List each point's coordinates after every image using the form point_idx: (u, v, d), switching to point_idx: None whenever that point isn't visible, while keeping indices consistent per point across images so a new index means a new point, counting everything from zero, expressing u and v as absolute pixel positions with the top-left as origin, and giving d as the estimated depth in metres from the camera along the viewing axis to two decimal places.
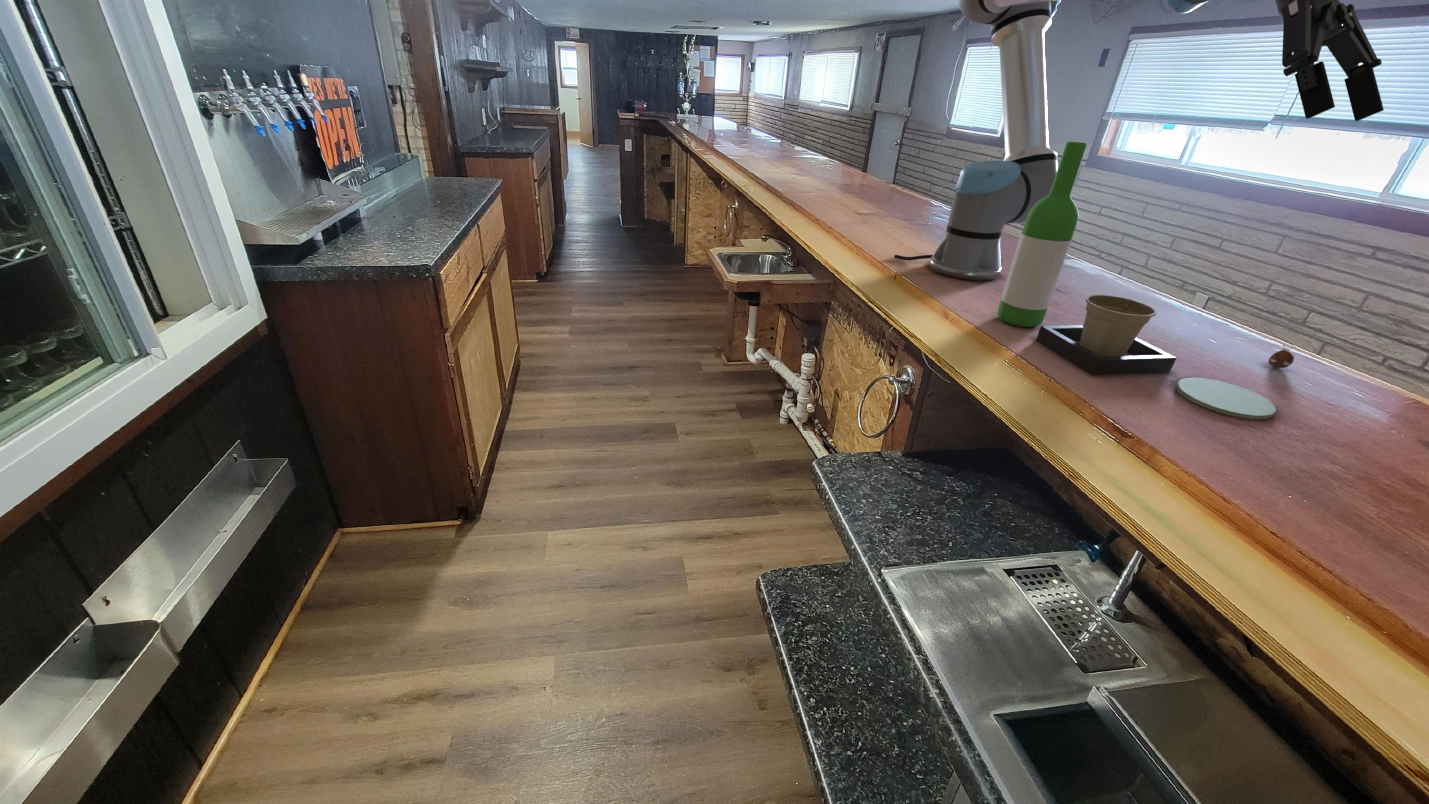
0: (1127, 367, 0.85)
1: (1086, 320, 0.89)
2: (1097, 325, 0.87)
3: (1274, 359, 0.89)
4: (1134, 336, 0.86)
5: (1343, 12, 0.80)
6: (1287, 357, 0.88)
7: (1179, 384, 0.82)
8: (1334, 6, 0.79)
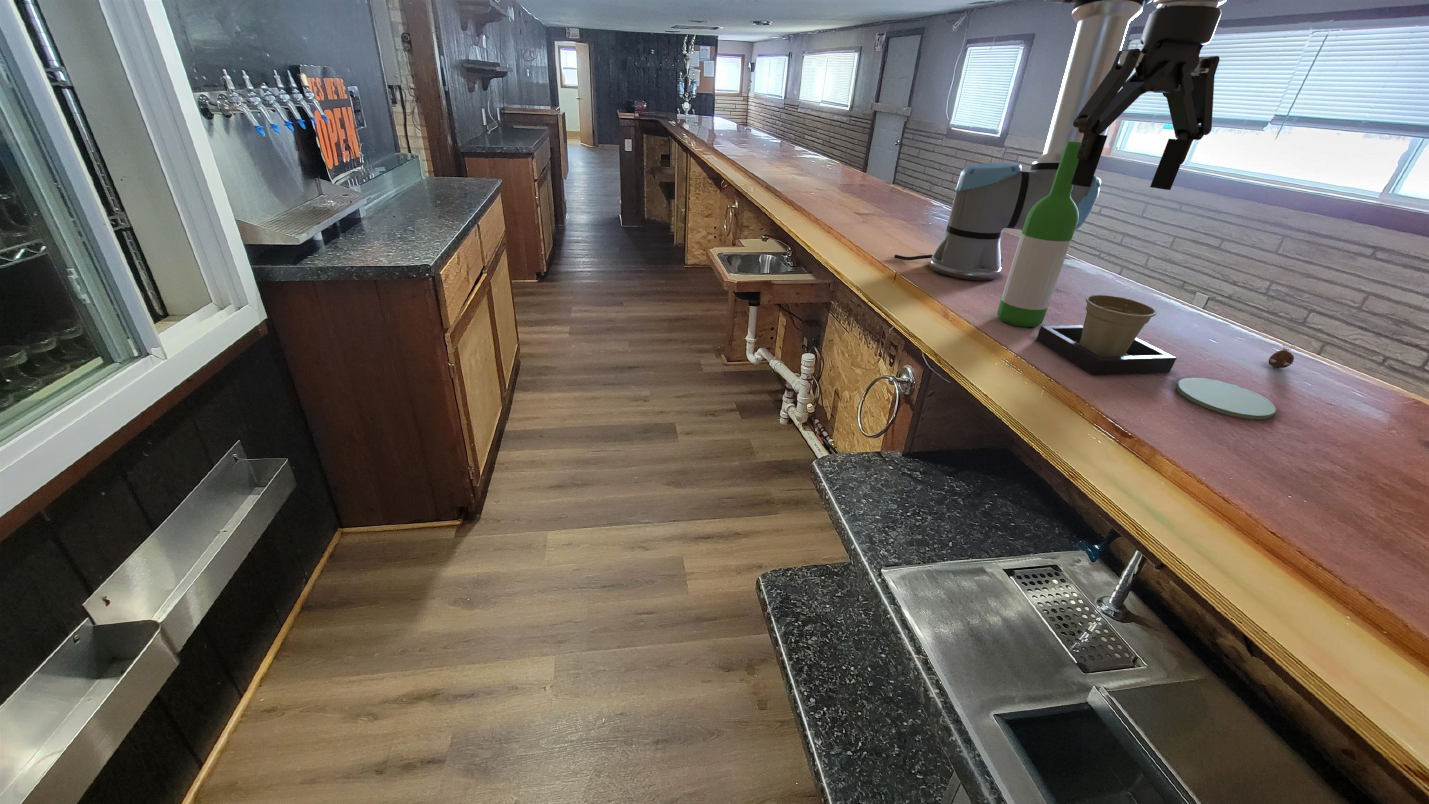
0: (1127, 367, 0.85)
1: (1086, 320, 0.89)
2: (1097, 325, 0.87)
3: (1274, 359, 0.89)
4: (1134, 336, 0.86)
5: (1182, 74, 0.73)
6: (1287, 357, 0.88)
7: (1179, 384, 0.82)
8: (1169, 68, 0.72)
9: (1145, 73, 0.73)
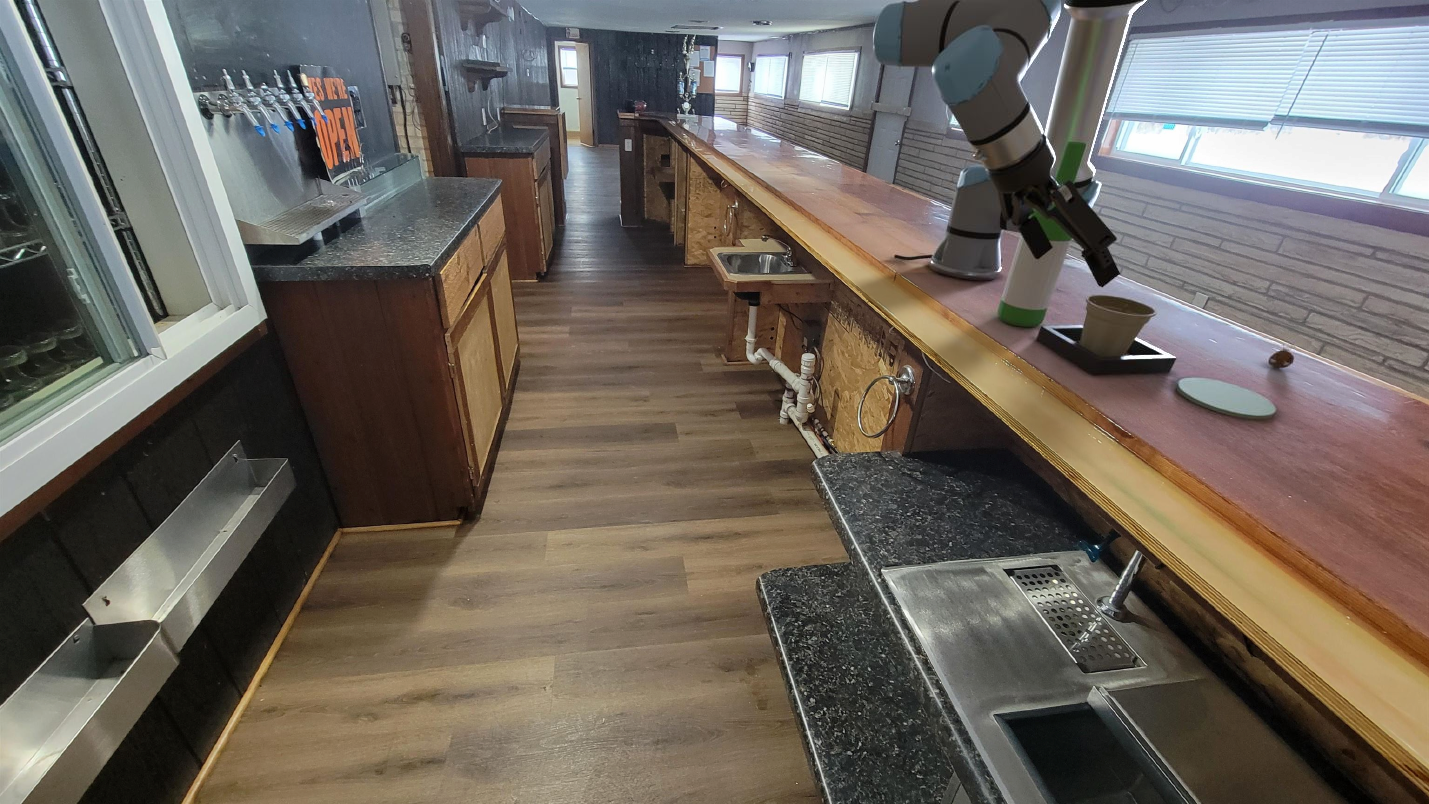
0: (1127, 367, 0.85)
1: (1086, 320, 0.89)
2: (1097, 325, 0.87)
3: (1274, 359, 0.89)
4: (1134, 336, 0.86)
5: (1029, 204, 0.75)
6: (1287, 357, 0.88)
7: (1179, 384, 0.82)
8: (1015, 198, 0.77)
9: None
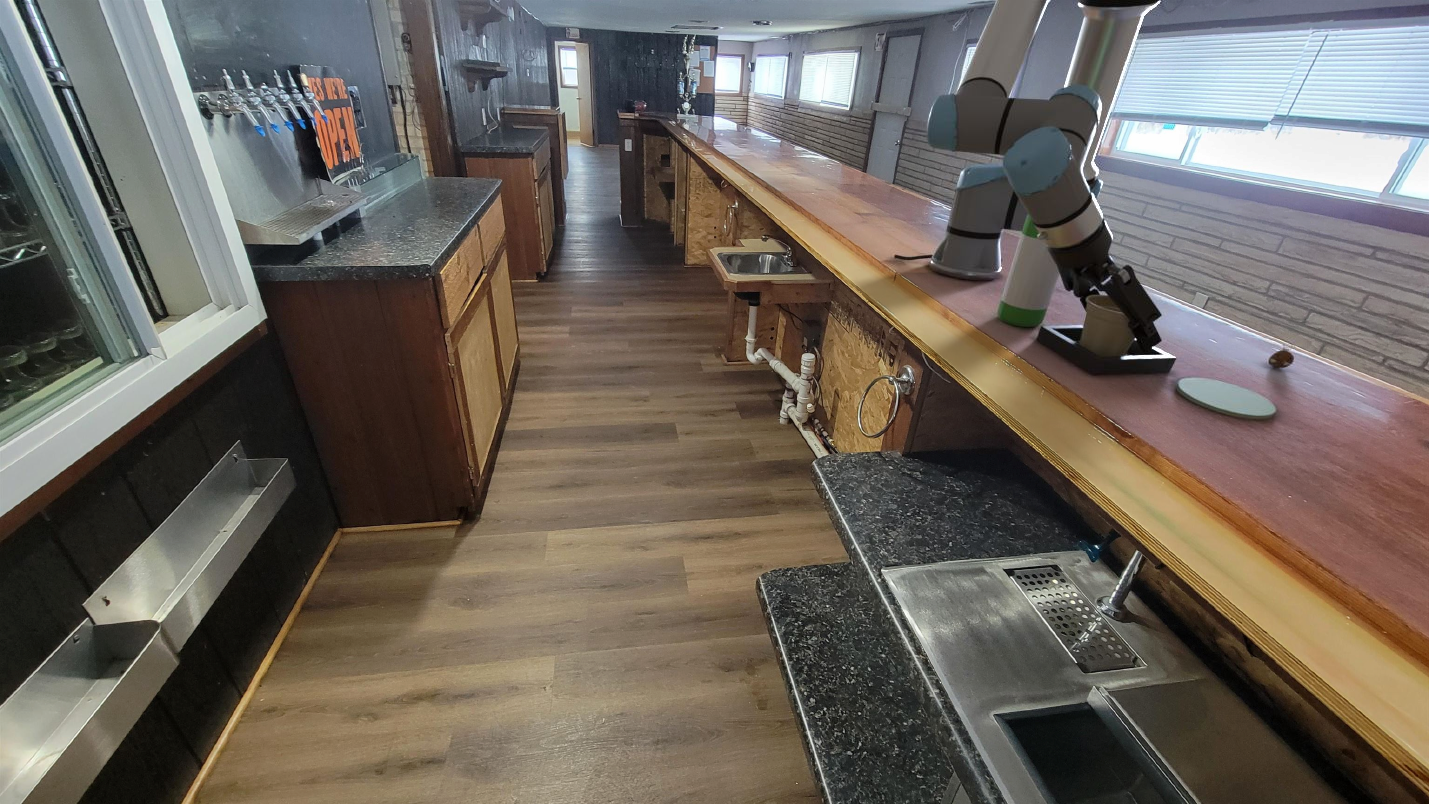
0: (1127, 367, 0.85)
1: (1086, 320, 0.89)
2: (1097, 325, 0.87)
3: (1274, 359, 0.89)
4: (1134, 336, 0.86)
5: (1085, 277, 0.83)
6: (1287, 357, 0.88)
7: (1179, 384, 0.82)
8: (1072, 270, 0.84)
9: None
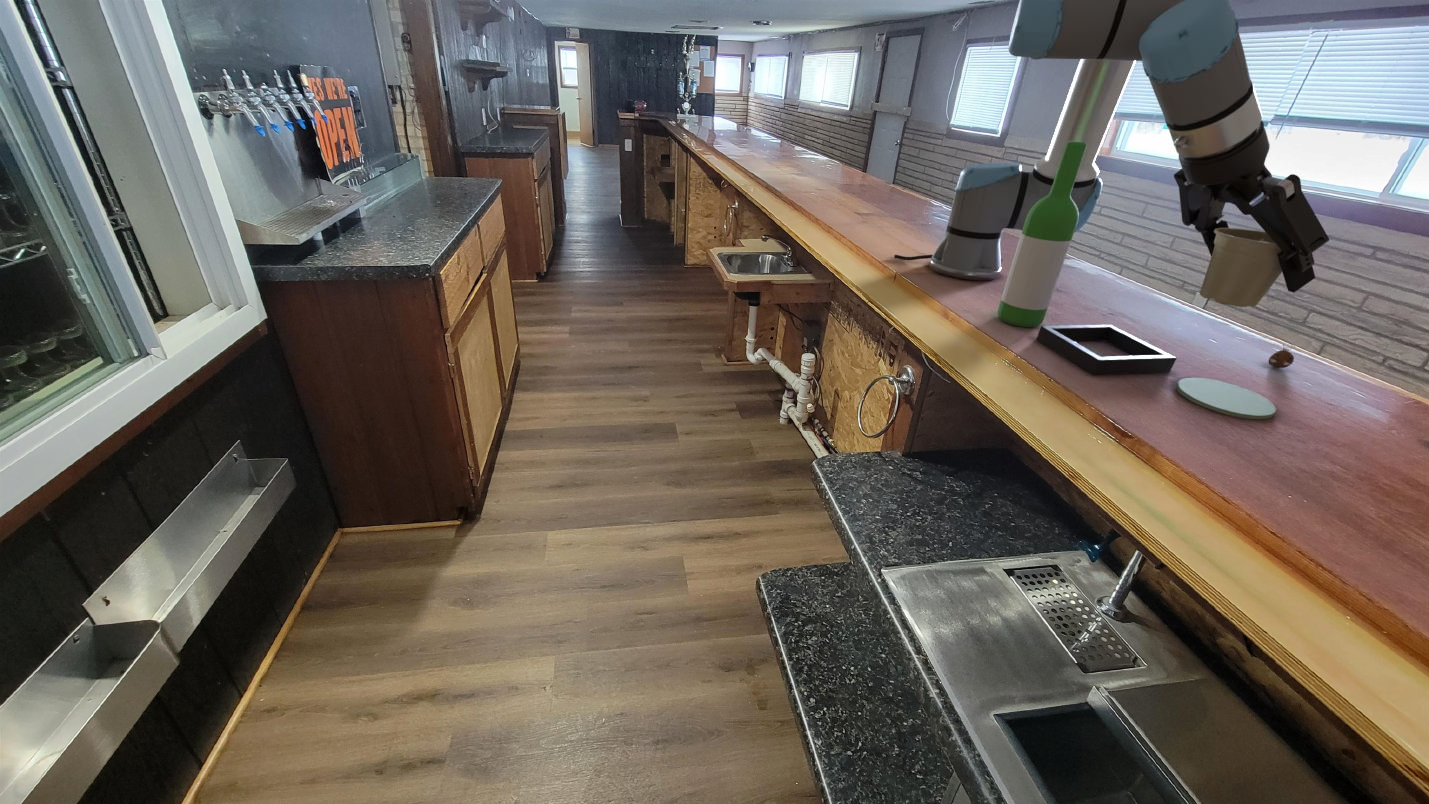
0: (1127, 367, 0.85)
1: (1215, 257, 0.74)
2: (1232, 260, 0.72)
3: (1274, 359, 0.89)
4: (1278, 273, 0.71)
5: (1226, 197, 0.68)
6: (1287, 357, 0.88)
7: (1179, 384, 0.82)
8: (1207, 191, 0.69)
9: (1204, 185, 0.71)
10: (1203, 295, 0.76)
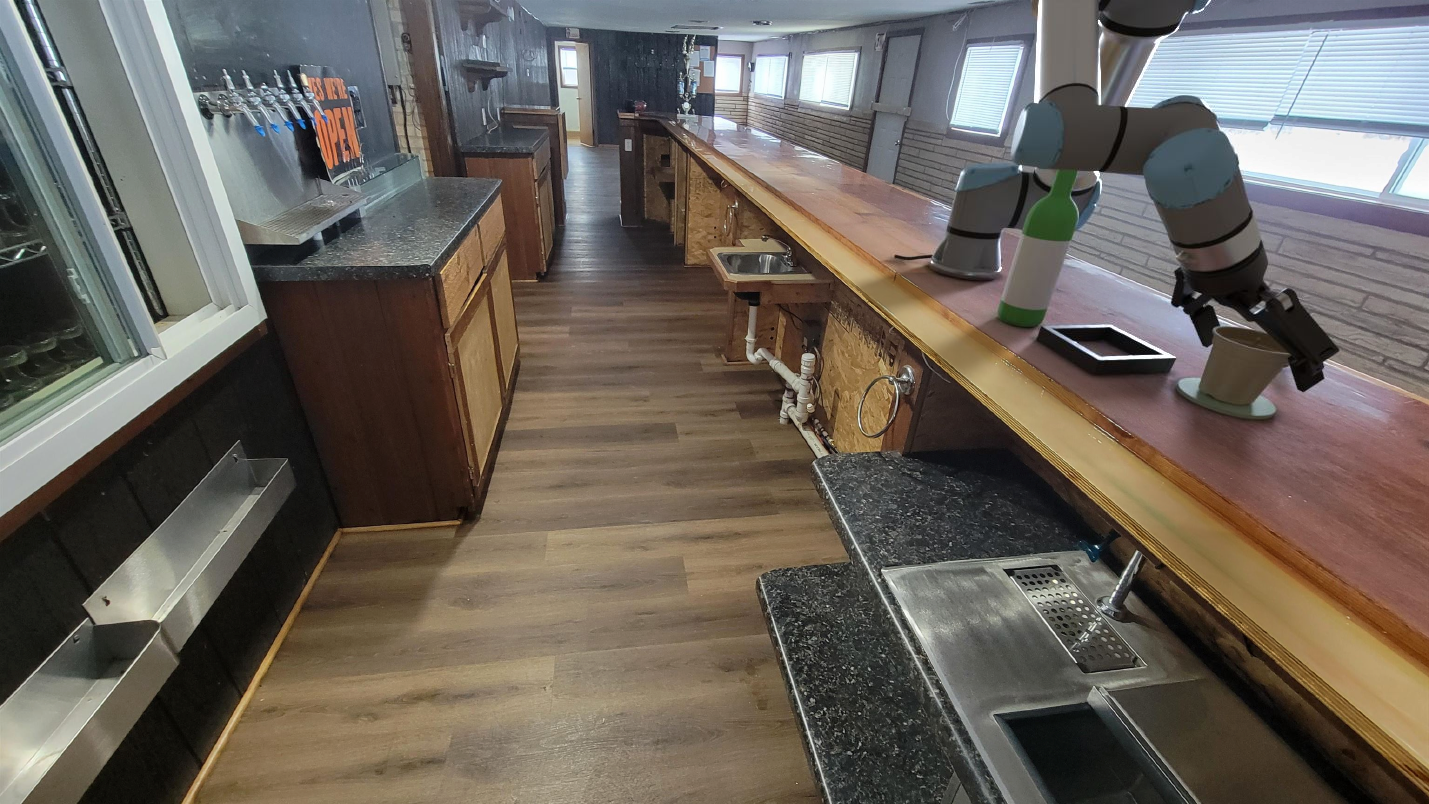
0: (1127, 367, 0.85)
1: (1213, 356, 0.77)
2: (1230, 362, 0.75)
3: None
4: (1274, 376, 0.74)
5: (1227, 305, 0.70)
6: None
7: (1179, 384, 0.82)
8: (1208, 296, 0.72)
9: None
10: (1202, 390, 0.79)
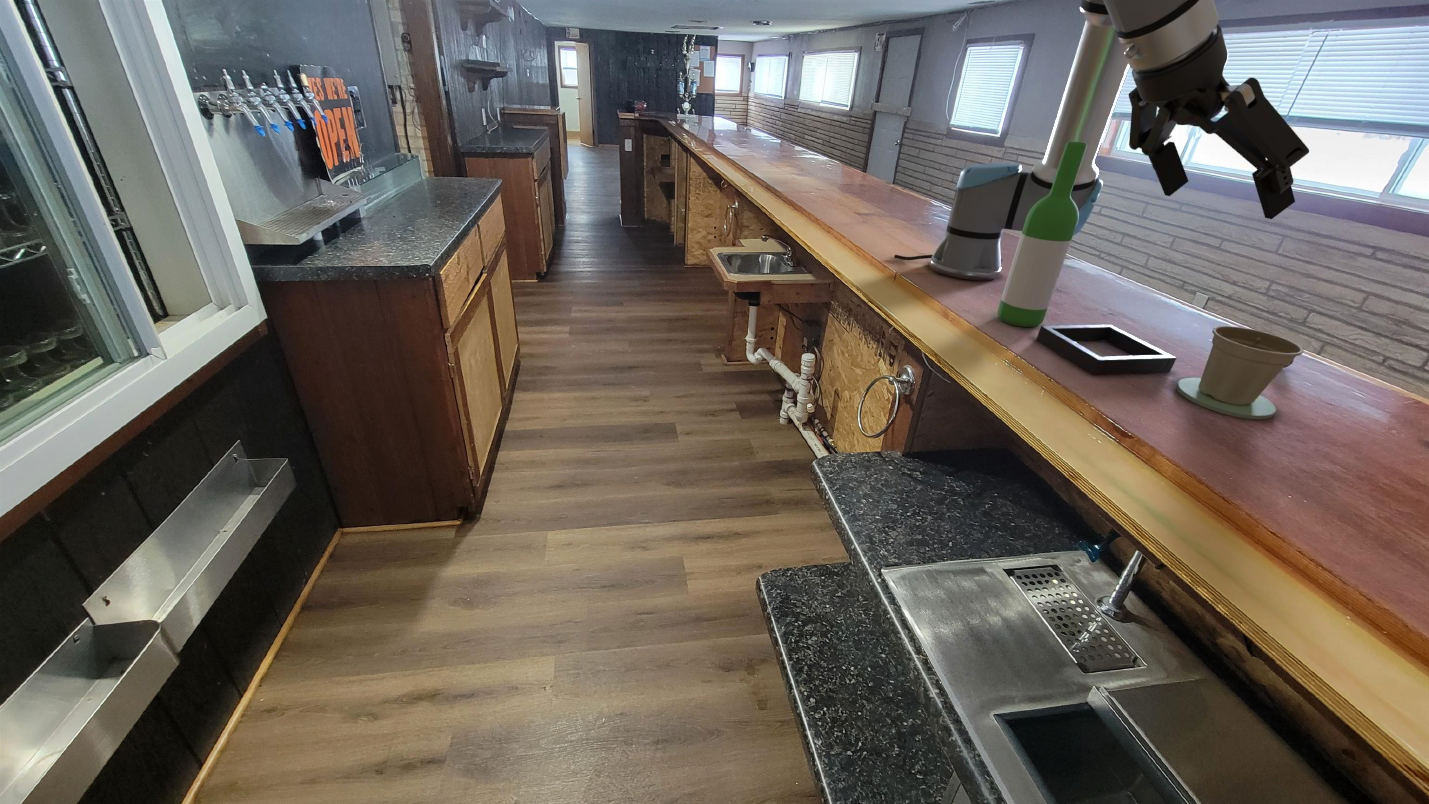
0: (1127, 367, 0.85)
1: (1213, 356, 0.77)
2: (1230, 362, 0.75)
3: None
4: (1274, 376, 0.74)
5: (1185, 117, 0.62)
6: None
7: (1179, 384, 0.82)
8: (1164, 112, 0.64)
9: None
10: (1202, 390, 0.79)
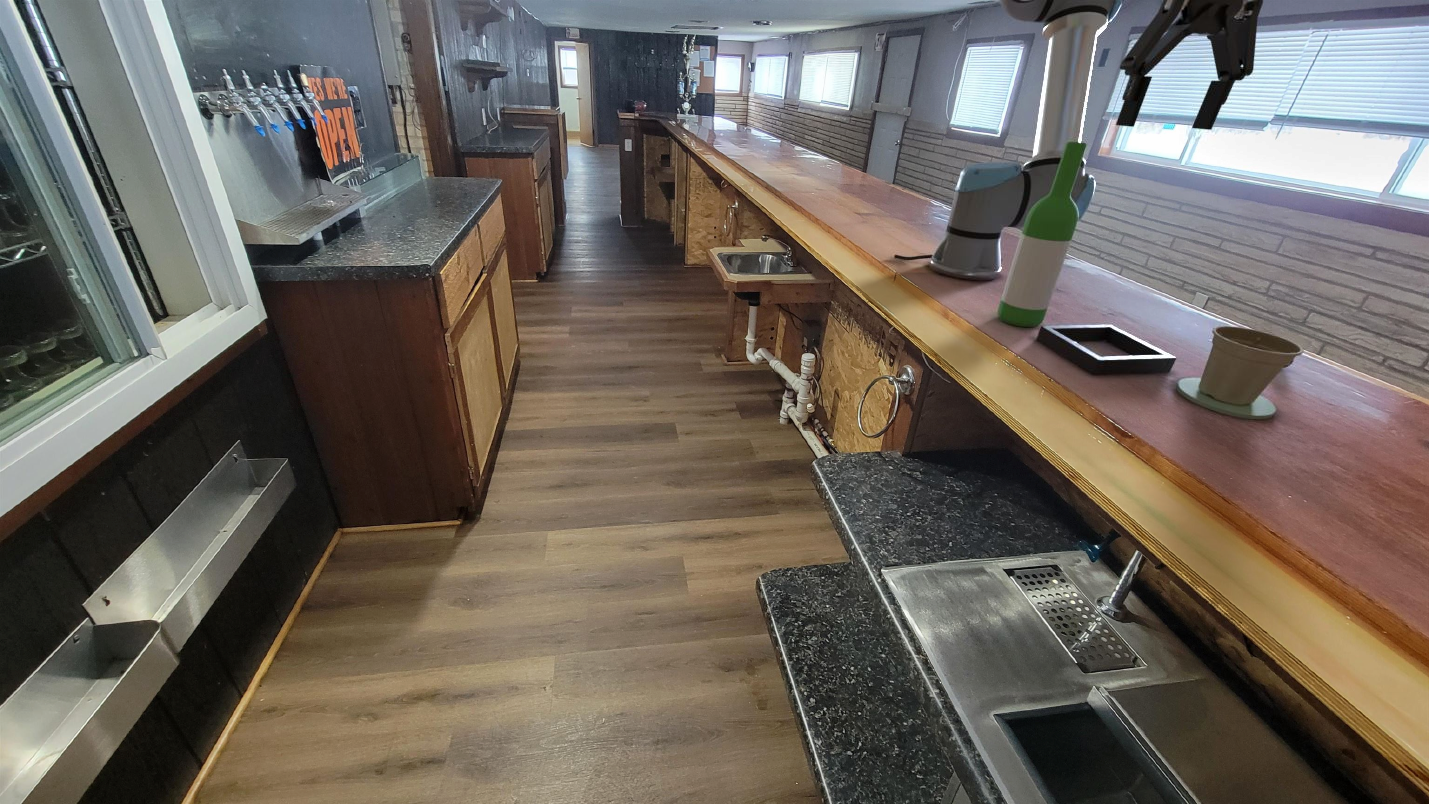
0: (1127, 367, 0.85)
1: (1213, 356, 0.77)
2: (1230, 362, 0.75)
3: None
4: (1274, 376, 0.74)
5: (1226, 16, 0.78)
6: None
7: (1179, 384, 0.82)
8: (1213, 10, 0.77)
9: (1190, 16, 0.78)
10: (1202, 390, 0.79)
